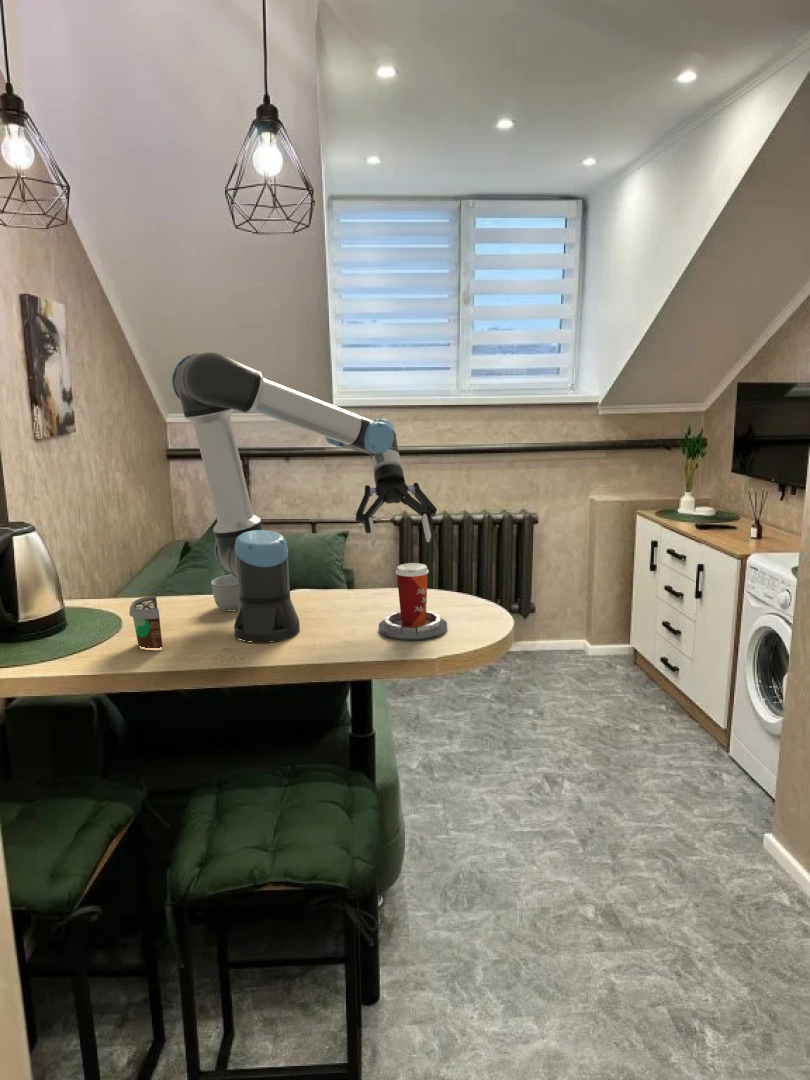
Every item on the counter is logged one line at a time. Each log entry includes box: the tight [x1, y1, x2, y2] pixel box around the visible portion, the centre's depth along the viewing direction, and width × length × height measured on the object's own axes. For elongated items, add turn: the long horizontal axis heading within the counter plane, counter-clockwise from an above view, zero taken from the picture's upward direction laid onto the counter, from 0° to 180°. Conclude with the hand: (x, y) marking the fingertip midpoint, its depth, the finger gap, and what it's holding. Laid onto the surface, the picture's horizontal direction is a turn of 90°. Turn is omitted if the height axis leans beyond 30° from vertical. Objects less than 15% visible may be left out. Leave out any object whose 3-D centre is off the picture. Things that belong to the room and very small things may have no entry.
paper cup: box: [395, 562, 430, 626], centre depth 174 cm, size 8×8×14 cm
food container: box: [128, 594, 163, 648], centre depth 170 cm, size 12×6×10 cm, turn 21°
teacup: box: [210, 573, 240, 611], centre depth 197 cm, size 14×11×8 cm
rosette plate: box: [378, 610, 448, 642], centre depth 176 cm, size 16×16×3 cm
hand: (401, 541), depth 182 cm, fingers open, 13 cm apart
